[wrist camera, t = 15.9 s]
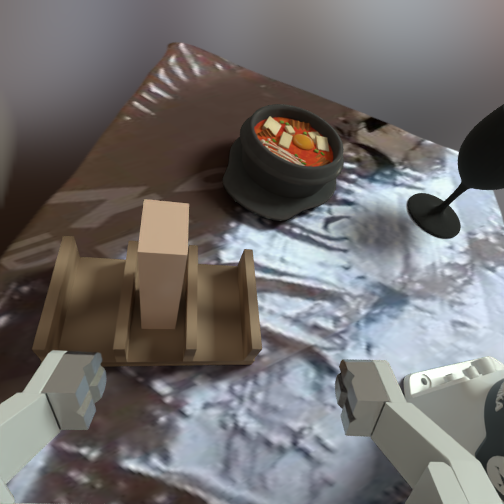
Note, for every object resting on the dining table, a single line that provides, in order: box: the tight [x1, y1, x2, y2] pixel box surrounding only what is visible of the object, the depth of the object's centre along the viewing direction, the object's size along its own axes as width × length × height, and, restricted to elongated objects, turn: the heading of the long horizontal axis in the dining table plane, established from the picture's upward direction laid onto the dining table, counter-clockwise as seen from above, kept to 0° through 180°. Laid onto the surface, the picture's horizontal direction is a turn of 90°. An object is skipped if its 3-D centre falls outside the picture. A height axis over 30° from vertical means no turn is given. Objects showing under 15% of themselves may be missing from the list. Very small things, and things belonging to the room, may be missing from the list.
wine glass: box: [408, 104, 504, 238], centre depth 54 cm, size 10×10×20 cm
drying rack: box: [32, 236, 262, 367], centre depth 37 cm, size 12×21×6 cm, turn 95°
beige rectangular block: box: [138, 199, 189, 329], centre depth 32 cm, size 5×4×15 cm
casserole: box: [223, 104, 344, 221], centre depth 54 cm, size 25×19×8 cm
